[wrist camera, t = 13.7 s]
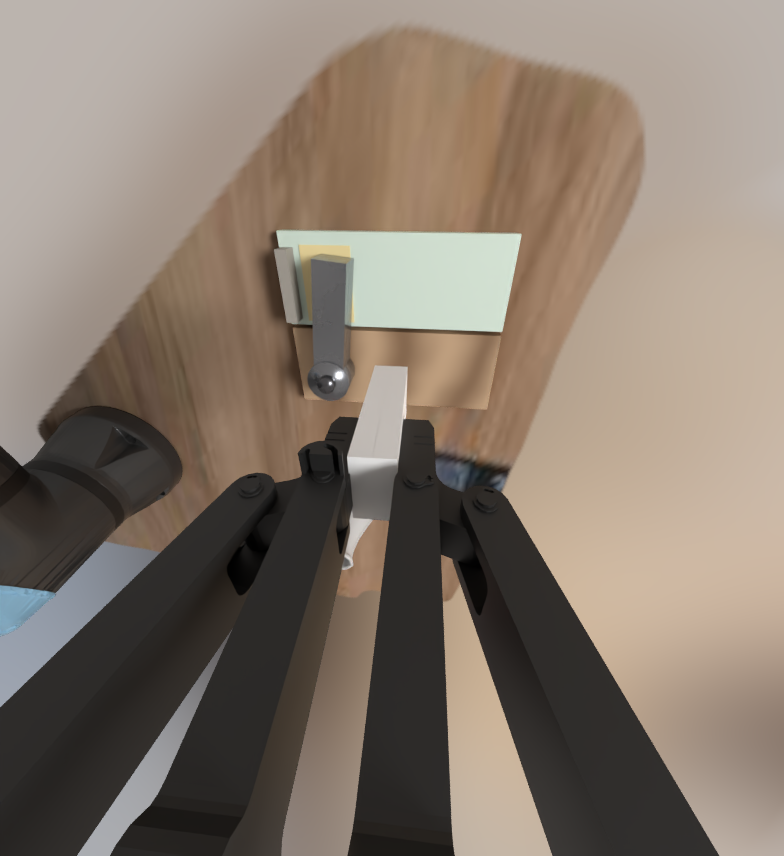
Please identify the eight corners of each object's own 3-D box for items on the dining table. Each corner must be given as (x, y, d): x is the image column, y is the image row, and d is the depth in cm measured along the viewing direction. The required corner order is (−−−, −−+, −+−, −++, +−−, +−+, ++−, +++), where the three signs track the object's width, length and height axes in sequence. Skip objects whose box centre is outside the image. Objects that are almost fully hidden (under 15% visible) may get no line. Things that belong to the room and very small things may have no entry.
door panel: (296, 320, 33) (285, 329, 31) (281, 229, 29) (268, 232, 26) (500, 327, 31) (505, 338, 29) (518, 232, 27) (526, 236, 25)
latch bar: (354, 388, 35) (346, 407, 32) (317, 382, 35) (305, 401, 32) (360, 259, 28) (351, 267, 25) (314, 252, 28) (298, 259, 25)
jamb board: (308, 393, 38) (304, 399, 37) (296, 324, 33) (292, 328, 32) (485, 403, 36) (486, 409, 35) (499, 331, 32) (501, 336, 31)
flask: (321, 488, 47) (297, 549, 39) (366, 475, 44) (350, 538, 36) (346, 520, 50) (329, 583, 42) (389, 510, 48) (379, 574, 40)
